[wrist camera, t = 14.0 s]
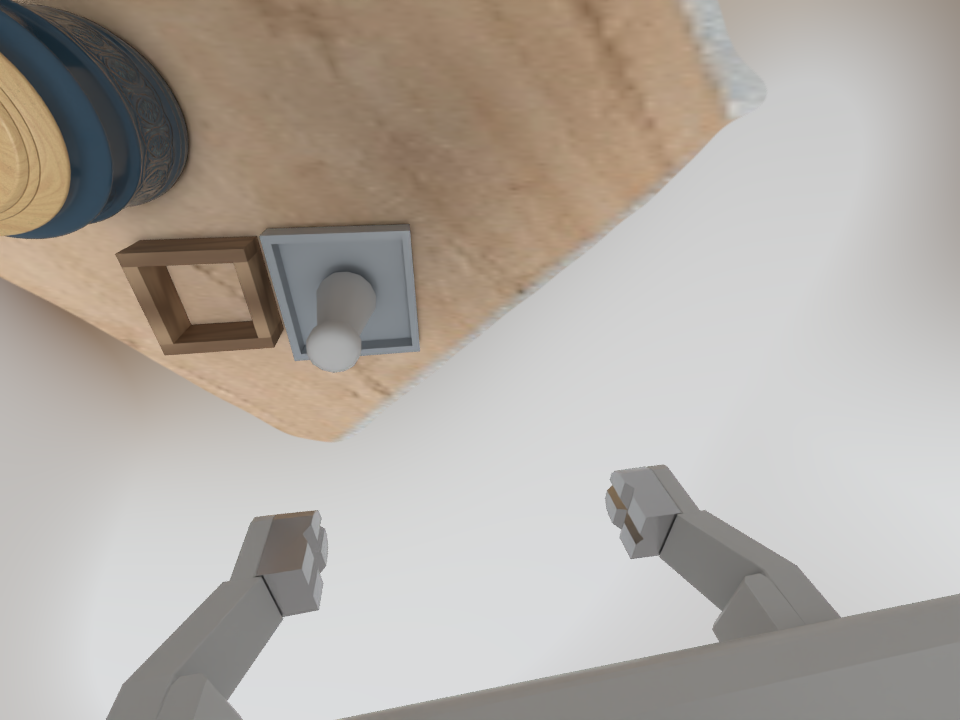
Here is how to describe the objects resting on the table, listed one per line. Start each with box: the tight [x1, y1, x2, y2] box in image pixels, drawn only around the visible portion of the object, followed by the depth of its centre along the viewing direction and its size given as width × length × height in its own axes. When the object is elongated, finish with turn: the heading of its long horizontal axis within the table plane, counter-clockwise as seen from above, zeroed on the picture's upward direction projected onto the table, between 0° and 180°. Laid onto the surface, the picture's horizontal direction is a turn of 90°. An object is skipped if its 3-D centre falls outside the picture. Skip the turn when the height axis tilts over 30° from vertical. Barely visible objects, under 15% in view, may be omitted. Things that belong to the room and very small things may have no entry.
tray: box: [259, 224, 420, 361], centre depth 42 cm, size 14×14×2 cm
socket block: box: [115, 236, 283, 355], centre depth 39 cm, size 10×10×4 cm
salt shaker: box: [306, 272, 376, 373], centre depth 37 cm, size 6×6×13 cm
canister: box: [0, 0, 188, 239], centre depth 25 cm, size 13×13×18 cm
